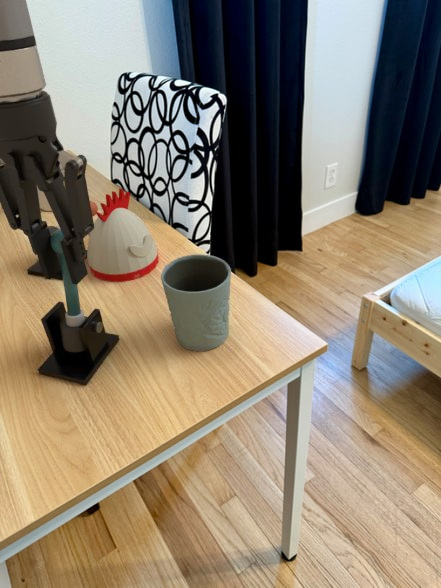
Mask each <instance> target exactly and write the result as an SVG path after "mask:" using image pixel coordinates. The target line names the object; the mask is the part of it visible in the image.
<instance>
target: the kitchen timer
mask: <svg viewBox="0 0 441 588" xmlns="http://www.w3.org/2000/svg"><path fill="white" fill-rule="evenodd" d="M130 199H131V192H130V191H126V192H125V190H124V189H123V188H119V189H118V194H117V192H116V191H113V190H111V195H110V194H108V193H106V194H105V202H106V203H103V202H99V203H100V207H101V210H102V212H99V211H97V212H96V216H97V218H96V219H95V221H93V222H94V230H92V231H91V232H90V233H89V234H88V235H87V236H88V241H87V249H86V250H87V257H86V258H87V263H88V267H89V271H90V273H91V274H92V275H93V276H94V277H96V278H97V279H99V280H101V281H106V282H115V283H116V282H117V283H118V282H119V283H120V282H121V283H122V282H127V281H128V282H129V281H132V280H133V281H134V280H136V279H138V278H142V277H144V276H146V275H147V274H150V273H151V272H152V271H153V270H154V269H155V268H156V267H157V265H158V263H159V253H158V252H159V251H158V247H157V244H156V241H155V240H154V237H153V235H152V234H151V231H150V230H149V228H148V227H147V225H146V224H145V222H144V221H143V220H142V219H141V218H140V217H139V216H138V215H137V214H136V213H134V212H133V211H131V210H130V209H129V204H130Z"/></svg>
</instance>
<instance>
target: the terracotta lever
mask: <svg viewBox="0 0 441 588" xmlns="http://www.w3.org/2000/svg"><path fill="white" fill-rule="evenodd" d="M90 205H91V211H92V216H93V217H95V216H97V214H96V212H99V207H98V205H97V203H96V202H95V201H93V200H90ZM47 228H49V231H50V234H51V236H52V234H53V233H54V232H55V231H57V230H59V229H60V227H59V225H57V226H55V225H48V227H47Z"/></svg>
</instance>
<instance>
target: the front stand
mask: <svg viewBox="0 0 441 588" xmlns="http://www.w3.org/2000/svg"><path fill="white" fill-rule="evenodd" d="M66 312H67V308H66V307H65V303H64V301H60V300H59V301H58V302H57V303H56V304H54V306H52V307H51V308H50V309H49V310H48V311H47V312H46V314H45V315H43V316H42V318H40V321H41V324H42V327H43V330H44V332H45V335H46V338H47V341H48V344H49V346H50V348H51V351H52V352H51V354H49V356H48V357H46V359H45V360H44V361H43V362H42V363H41V364H40V366H39V367H38V368H37V372H38V374H39V375H42V376H45V377H50V378H54V379H58V380H62V381H65V382H70V383H73V384H78V385H82V386H87V385H88V383H89V382H90V381H91V380H92V378H93V377H94V375H95V374H96V373H97V371H98V370H99V369H100V367H101V366H102V365H103V363H104V362H105V360H106V359H107V358H108V357H109V356H110V354H111V353H112V351H113V350H114V349H115V347H116V346H117V344H118V343H119V342H120V335H118V334H114V333H109V332H106V329H105V325H104V320H103V317H102V312H101V309H100V308H94V309H93V310H92V311H91V312H90V314H89V315H88V316H86V317H87V318H86V319H85V321H84V322H83V323H82V324H81V325H80V326H79V331H80V334H81V337H82V340H83V344H84V347H85V351H82V352H69V351H66V350H65V349H64V347H63V341H62V335H61V328H60V323H61V322H62V321H63V320H64V319H66V318H65V313H66Z"/></svg>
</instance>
